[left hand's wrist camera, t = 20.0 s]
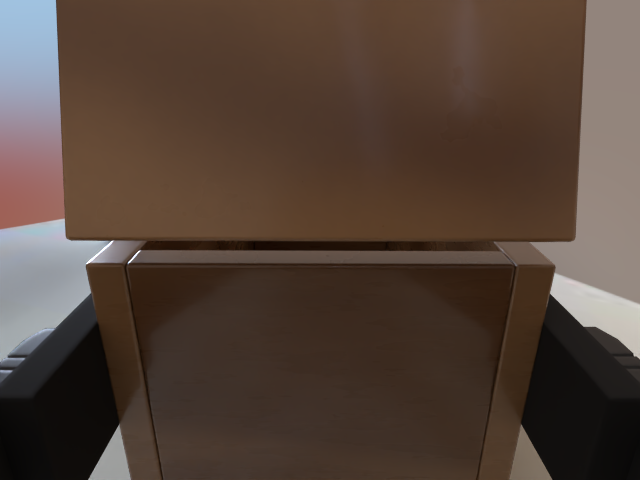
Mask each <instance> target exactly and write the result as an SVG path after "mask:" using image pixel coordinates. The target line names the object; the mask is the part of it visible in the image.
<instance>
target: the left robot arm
mask: <svg viewBox="0 0 640 480" xmlns="http://www.w3.org/2000/svg"><path fill="white" fill-rule="evenodd" d="M521 424H522V426H523V428H524V430H525V431H526V433H527V435H528V437H529V439H530V440H531V442H532V444H533V446H534V448H535V449H536V451H537V453H538V455H539V456H540V458H541V460H542V462H543V464H544V465H545V467H546V469H547V471H548V472H549V474H550V476H551V478H552V480H640V359H639V358H638V357H634V356H633V353H632V352H631V351H630V350H629V349H628V348H627V347H626V346H624V345H623V344H622V343H621V342H620V341H619V340H618V339H616V338H615V337H613V336H611V335H609V334H607V333H606V332H604V331H602V330H600V329H598V328H597V327H583V326H582V325H581V324H580V323H579V322H578V321H577V320H576V319H575V318H574V317H573V316H572V315H571V314H570V313H569V312H568V311H567V310H566V309H565V308H564V307H563V306H562V305H561V304H560V303H559V302H558V301H557V300H556V299H555V298H554V297H553V296H552V295H551V294H550V295H549V300H548V304H547V309H546V313H545V318H544V323H543V327H542V331H541V336H540V340H539V345H538V350H537V354H536V359H535V363H534V368H533V373H532V377H531V382H530V386H529V391H528V395H527V400H526V404H525V409H524V414H523V418H522V423H521ZM118 425H119V419H118V415H117V410H116V405H115V401H114V396H113V391H112V387H111V382H110V377H109V373H108V368H107V363H106V359H105V354H104V349H103V345H102V340H101V335H100V331H99V326H98V322H97V317H96V312H95V308H94V303H93V298H92V294H90V295H89V296H88V297H87V298H86V299H85V300H84V301H83V302H82V303H81V304H80V305H79V306H78V307H77V308H76V309H75V310H74V311H73V312H72V313H71V314H70V315H69V316H68V317H67V318H66V319H65V320H64V321H63V322H61V323H60V324H59V325H58V326H57V327H56V328H45V329H43V330H42V331H40V332H38V333H36V334H35V335H33V336H31V337H29V338H27V339H26V340H24V341H23V342H21V343H20V344H19V345H18V346H17V347H16V348H15V349H14V350H13V351H12V352H11V353H10V354H9V355H8V358H4V359H3V360H2V361H1V362H0V480H88V479H89V477H90V475H91V473H92V472H93V470H94V468H95V466H96V464H97V463H98V461H99V459H100V457H101V456H102V454H103V452H104V450H105V448H106V447H107V445H108V443H109V441H110V440H111V438H112V436H113V434H114V432H115V431H116V429H117V427H118Z"/></svg>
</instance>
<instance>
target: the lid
mask: <svg viewBox="0 0 640 480" xmlns="http://www.w3.org/2000/svg"><path fill="white" fill-rule="evenodd" d="M586 1H587V0H56V10H57V35H58V59H59V84H60V107H61V133H62V157H63V181H64V206H65V230H66V238H67V239H69V240H71V241H390V242H571V241H574V240H575V235H576V213H577V192H578V171H579V150H580V129H581V107H582V87H583V65H584V44H585V23H586Z"/></svg>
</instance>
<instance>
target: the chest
mask: <svg viewBox="0 0 640 480" xmlns="http://www.w3.org/2000/svg"><path fill="white" fill-rule="evenodd" d="M86 270H87V275H88V279H89V284H90V289H91V294H92V298H93V303H94V308H95V312H96V317H97V322H98V326H99V331H100V335H101V340H102V345H103V349H104V354H105V359H106V363H107V368H108V373H109V377H110V382H111V387H112V391H113V396H114V401H115V405H116V410H117V415H118V419H119V425H120V430H121V435H122V439H123V444H124V449H125V453H126V458H127V463H128V468H129V472H130V477H131V480H509V477H510V473H511V468H512V464H513V459H514V454H515V450H516V445H517V441H518V436H519V432H520V427H521V423H522V418H523V414H524V409H525V404H526V400H527V395H528V391H529V386H530V382H531V377H532V373H533V368H534V363H535V359H536V354H537V350H538V345H539V340H540V336H541V331H542V327H543V323H544V318H545V313H546V309H547V304H548V300H549V295H550V291H551V286H552V282H553V277H554V272H555V265H554V264H553V263H552V262H551V261H550V260H549V259H547V258H546V257H545V256H544V255H543V254H542V253H541V252H539V251H538V250H537V249H536V248H535V247H534V246H533V245H532V244H531V243H529V242H390V241H112V242H111V243H109V244H108V245H107V246H106V247H105V248H104V249H103V250H101V251H100V252H99V253H98V254H97V255H96V256H95V257H93V258H92V259H91V260H90V261H89V262H88V263H87V264H86Z"/></svg>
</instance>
